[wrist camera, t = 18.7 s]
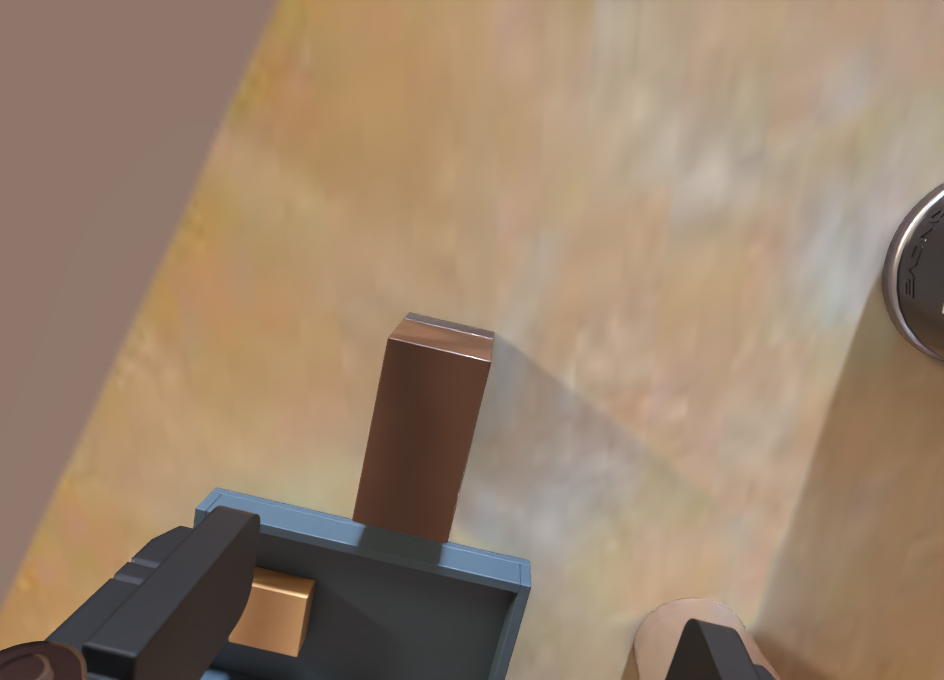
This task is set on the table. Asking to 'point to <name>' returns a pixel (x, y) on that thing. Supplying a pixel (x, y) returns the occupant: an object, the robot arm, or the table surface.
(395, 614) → the tray
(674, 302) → the table surface
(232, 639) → the copper square block
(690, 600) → the metal cup with straw
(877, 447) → the table surface
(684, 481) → the table surface
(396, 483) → the brown long rectangular block
